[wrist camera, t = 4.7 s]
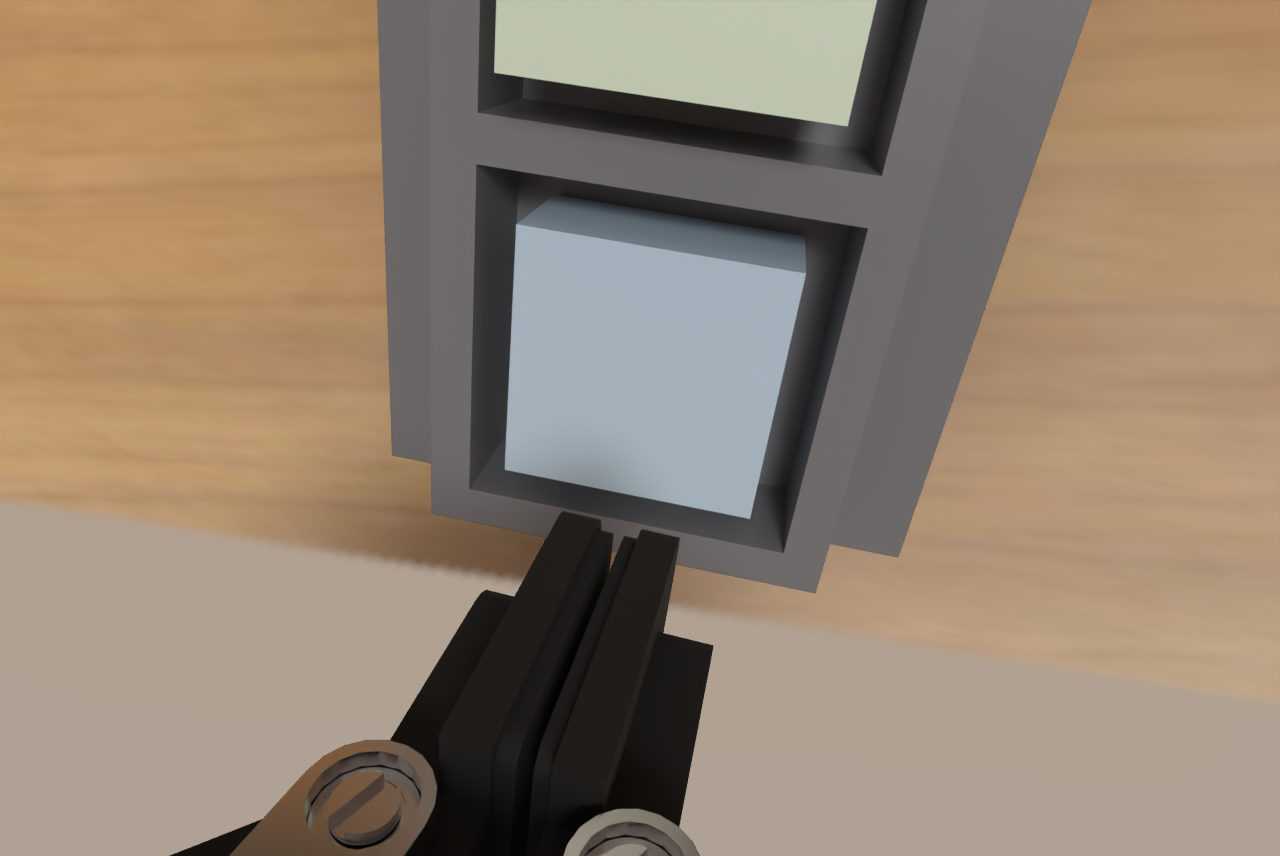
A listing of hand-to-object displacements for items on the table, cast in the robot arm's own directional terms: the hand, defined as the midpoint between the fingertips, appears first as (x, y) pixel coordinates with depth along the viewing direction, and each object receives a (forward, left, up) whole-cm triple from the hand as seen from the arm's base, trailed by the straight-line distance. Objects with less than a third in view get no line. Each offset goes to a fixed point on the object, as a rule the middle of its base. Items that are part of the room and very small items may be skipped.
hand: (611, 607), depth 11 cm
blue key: (+1, 0, -10) cm, 10 cm away
